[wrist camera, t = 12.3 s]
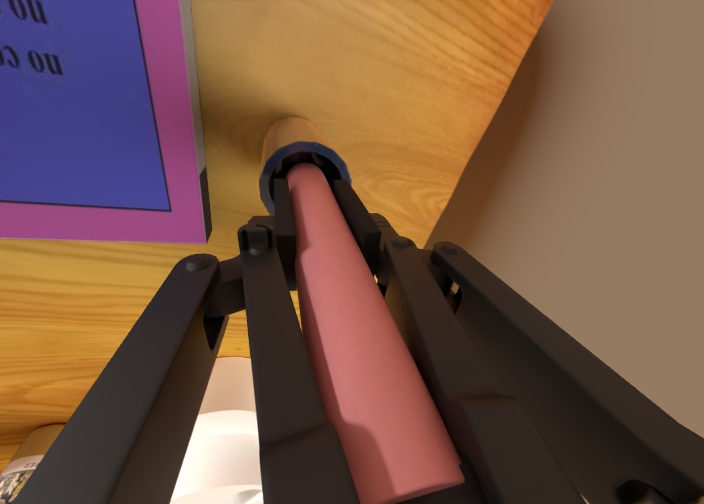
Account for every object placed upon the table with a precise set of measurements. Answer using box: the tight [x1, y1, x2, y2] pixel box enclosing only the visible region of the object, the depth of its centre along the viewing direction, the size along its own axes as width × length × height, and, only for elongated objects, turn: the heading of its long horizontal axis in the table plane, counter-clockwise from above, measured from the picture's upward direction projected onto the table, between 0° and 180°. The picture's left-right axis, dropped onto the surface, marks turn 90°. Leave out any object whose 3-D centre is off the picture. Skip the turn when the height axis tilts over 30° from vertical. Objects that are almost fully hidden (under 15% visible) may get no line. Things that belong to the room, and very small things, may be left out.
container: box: [170, 357, 264, 504], centre depth 41 cm, size 20×25×14 cm
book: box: [0, 0, 212, 244], centre depth 17 cm, size 21×3×30 cm
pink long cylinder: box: [286, 163, 465, 504], centre depth 12 cm, size 3×3×18 cm
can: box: [259, 116, 352, 216], centre depth 23 cm, size 6×6×11 cm
